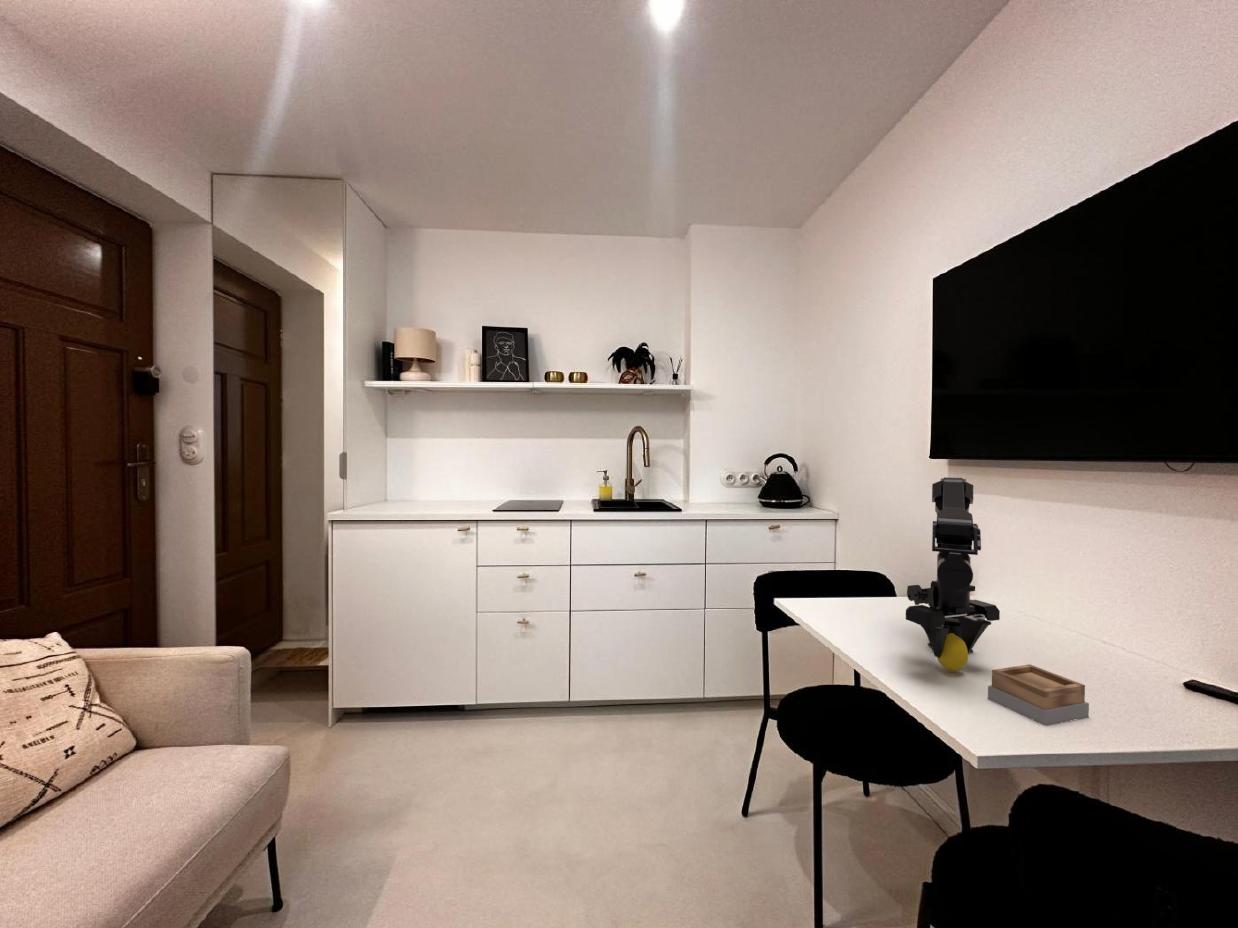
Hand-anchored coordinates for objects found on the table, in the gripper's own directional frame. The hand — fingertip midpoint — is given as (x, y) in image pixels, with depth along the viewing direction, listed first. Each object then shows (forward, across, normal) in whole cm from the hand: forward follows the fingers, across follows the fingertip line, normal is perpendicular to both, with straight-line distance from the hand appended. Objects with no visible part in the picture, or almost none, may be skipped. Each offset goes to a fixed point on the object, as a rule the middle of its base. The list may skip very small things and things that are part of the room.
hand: (951, 654), depth 109 cm
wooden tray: (+1, -1, +16) cm, 16 cm away
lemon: (+4, 0, 0) cm, 4 cm away
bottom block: (+4, -1, +16) cm, 17 cm away
